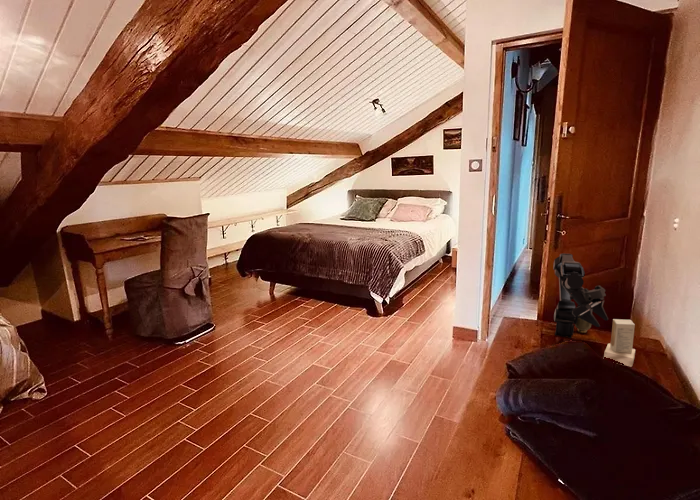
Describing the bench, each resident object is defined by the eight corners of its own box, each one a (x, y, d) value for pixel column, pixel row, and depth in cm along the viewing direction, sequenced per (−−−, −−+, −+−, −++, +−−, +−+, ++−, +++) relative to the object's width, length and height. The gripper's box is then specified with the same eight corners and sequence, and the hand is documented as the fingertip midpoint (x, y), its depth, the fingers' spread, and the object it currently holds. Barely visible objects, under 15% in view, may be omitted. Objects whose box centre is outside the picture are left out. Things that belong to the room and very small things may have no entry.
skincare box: (627, 347, 153) (631, 319, 149) (632, 353, 149) (636, 324, 145) (609, 346, 155) (612, 318, 151) (612, 352, 151) (616, 323, 147)
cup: (591, 330, 178) (593, 314, 176) (591, 337, 172) (593, 320, 170) (573, 327, 182) (574, 311, 180) (572, 333, 176) (573, 316, 174)
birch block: (603, 360, 152) (604, 351, 151) (607, 352, 159) (608, 343, 158) (631, 368, 146) (632, 358, 145) (634, 358, 153) (635, 349, 152)
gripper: (583, 285, 150) (613, 320, 144) (601, 275, 161) (629, 307, 155) (560, 300, 157) (587, 333, 152) (578, 289, 169) (604, 320, 163)
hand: (603, 323), depth 155 cm, fingers open, 9 cm apart
